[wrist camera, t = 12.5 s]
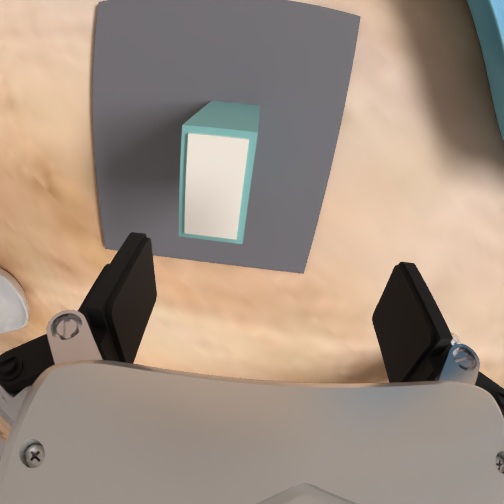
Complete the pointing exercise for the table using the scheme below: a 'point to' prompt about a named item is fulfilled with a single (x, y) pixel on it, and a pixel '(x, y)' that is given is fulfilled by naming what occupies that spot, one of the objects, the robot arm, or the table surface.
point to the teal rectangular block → (217, 171)
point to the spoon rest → (12, 304)
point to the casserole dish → (492, 48)
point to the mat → (224, 90)
